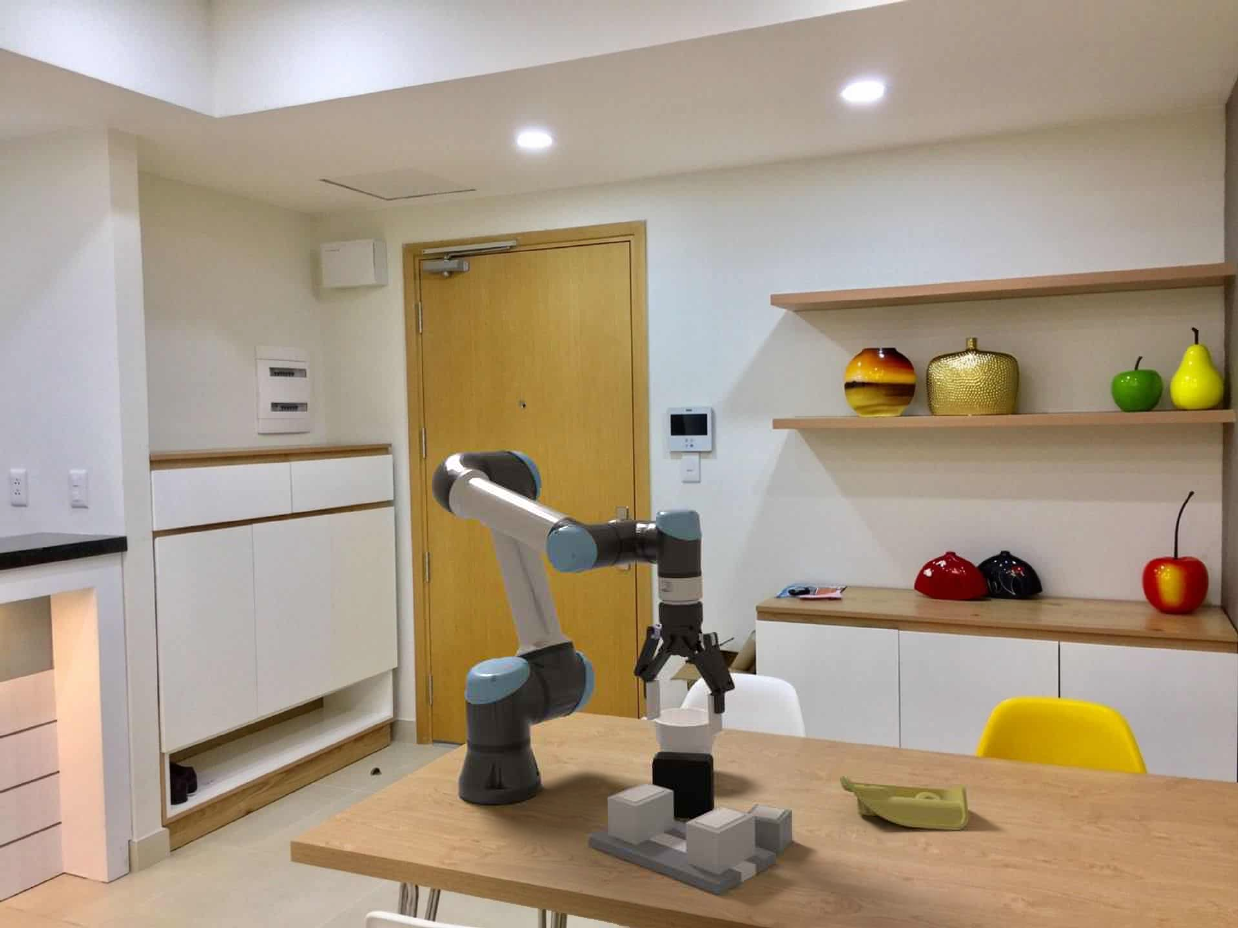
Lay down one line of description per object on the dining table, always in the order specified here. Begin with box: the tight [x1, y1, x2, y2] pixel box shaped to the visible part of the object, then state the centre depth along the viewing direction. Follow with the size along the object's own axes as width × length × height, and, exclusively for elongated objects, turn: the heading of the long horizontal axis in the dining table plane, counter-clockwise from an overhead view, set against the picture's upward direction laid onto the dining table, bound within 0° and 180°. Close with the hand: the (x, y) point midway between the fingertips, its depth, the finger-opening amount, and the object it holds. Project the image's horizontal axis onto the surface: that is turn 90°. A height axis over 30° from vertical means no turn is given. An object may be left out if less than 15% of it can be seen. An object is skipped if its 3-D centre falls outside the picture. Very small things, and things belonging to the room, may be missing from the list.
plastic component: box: [839, 775, 970, 831], centre depth 169 cm, size 20×7×10 cm
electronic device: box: [651, 750, 715, 820], centre depth 172 cm, size 4×10×10 cm, turn 79°
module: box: [746, 803, 793, 856], centre depth 159 cm, size 6×6×5 cm
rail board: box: [587, 782, 777, 896], centre depth 156 cm, size 26×14×8 cm, turn 47°
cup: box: [652, 707, 717, 755], centre depth 192 cm, size 12×12×11 cm
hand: (683, 725), depth 171 cm, fingers open, 13 cm apart
